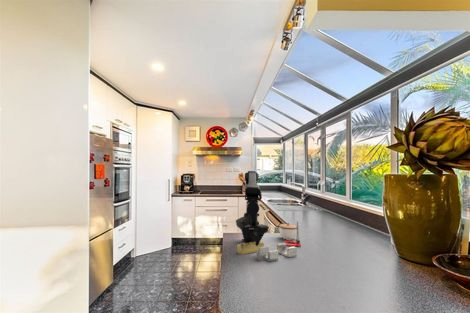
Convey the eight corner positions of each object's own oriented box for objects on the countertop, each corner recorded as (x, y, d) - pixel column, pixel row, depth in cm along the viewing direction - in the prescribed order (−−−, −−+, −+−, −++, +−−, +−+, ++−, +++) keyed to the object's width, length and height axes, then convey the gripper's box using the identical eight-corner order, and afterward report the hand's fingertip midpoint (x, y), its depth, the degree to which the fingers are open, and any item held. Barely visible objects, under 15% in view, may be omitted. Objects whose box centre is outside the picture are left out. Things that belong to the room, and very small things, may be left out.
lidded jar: (287, 235, 151) (288, 220, 152) (300, 239, 142) (300, 224, 143) (275, 237, 145) (275, 222, 146) (287, 241, 136) (288, 225, 137)
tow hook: (284, 247, 127) (301, 247, 126) (283, 222, 128) (300, 222, 128) (281, 243, 135) (298, 243, 135) (281, 220, 136) (297, 220, 136)
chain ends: (252, 257, 107) (253, 248, 108) (288, 250, 120) (288, 242, 120) (264, 263, 101) (264, 253, 101) (300, 254, 114) (300, 246, 114)
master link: (236, 252, 114) (237, 243, 114) (259, 248, 121) (259, 239, 122) (241, 255, 111) (241, 245, 111) (263, 250, 118) (263, 241, 119)
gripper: (228, 209, 121) (227, 240, 120) (250, 215, 106) (249, 251, 104) (245, 208, 127) (244, 238, 126) (269, 213, 112) (268, 247, 110)
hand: (250, 243), depth 116 cm, fingers open, 9 cm apart
